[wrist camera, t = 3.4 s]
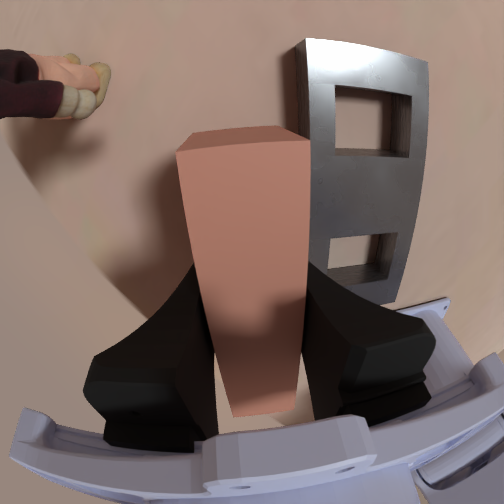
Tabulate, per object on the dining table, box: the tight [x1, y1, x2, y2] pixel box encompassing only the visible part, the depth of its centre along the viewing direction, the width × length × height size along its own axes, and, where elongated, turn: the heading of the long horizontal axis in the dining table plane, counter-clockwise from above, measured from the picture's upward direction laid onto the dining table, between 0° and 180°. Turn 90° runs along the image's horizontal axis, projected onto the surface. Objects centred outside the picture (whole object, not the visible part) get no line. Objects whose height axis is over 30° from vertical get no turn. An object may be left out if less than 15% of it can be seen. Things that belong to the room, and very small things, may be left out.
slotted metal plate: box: [295, 38, 429, 305], centre depth 14 cm, size 16×7×2 cm, turn 3°
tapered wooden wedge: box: [175, 126, 311, 417], centre depth 12 cm, size 12×3×6 cm, turn 4°
